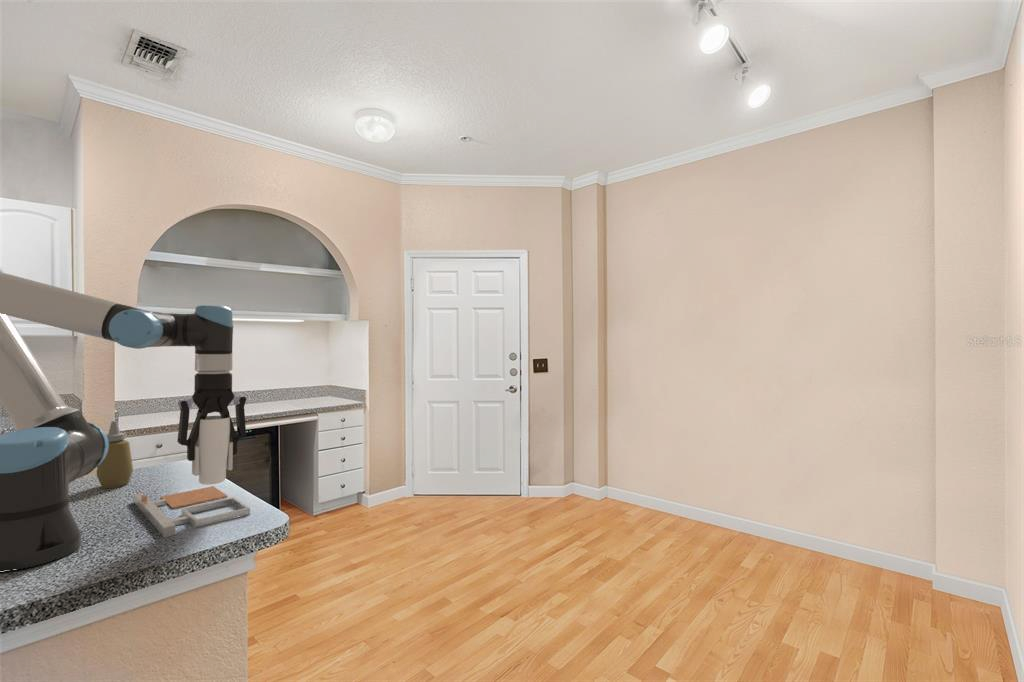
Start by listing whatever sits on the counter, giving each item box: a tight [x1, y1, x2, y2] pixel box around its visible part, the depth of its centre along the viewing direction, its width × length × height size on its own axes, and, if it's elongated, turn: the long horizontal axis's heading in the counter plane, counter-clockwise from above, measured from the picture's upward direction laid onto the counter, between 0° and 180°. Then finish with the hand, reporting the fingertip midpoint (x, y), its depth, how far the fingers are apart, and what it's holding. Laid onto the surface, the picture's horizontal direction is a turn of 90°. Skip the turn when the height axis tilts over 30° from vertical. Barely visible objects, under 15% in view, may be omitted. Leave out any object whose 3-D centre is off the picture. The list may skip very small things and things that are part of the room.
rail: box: [133, 486, 251, 538], centre depth 121 cm, size 32×18×3 cm, turn 46°
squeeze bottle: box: [95, 420, 134, 489], centre depth 141 cm, size 8×8×18 cm
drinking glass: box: [196, 415, 231, 486], centre depth 117 cm, size 7×7×15 cm
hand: (212, 471), depth 117 cm, fingers closed on drinking glass, 6 cm apart
